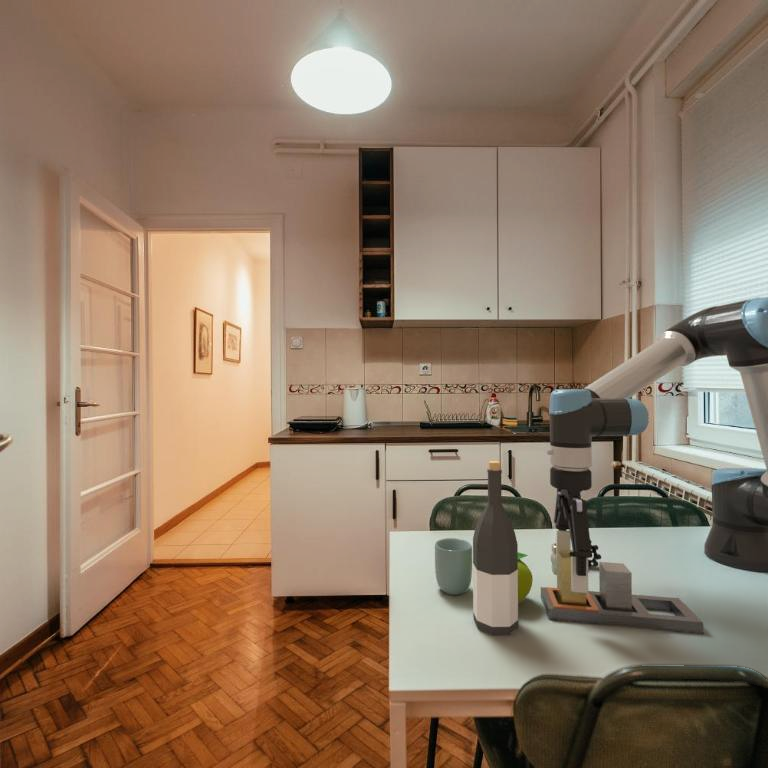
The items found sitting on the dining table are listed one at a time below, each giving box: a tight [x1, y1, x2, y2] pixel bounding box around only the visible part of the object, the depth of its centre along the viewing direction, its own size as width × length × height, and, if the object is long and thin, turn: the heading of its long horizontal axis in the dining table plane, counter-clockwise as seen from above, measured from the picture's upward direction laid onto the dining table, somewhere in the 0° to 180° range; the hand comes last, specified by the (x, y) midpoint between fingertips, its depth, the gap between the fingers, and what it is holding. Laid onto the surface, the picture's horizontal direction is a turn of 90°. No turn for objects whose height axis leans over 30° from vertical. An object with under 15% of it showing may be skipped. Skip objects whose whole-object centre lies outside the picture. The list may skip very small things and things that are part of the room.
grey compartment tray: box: [540, 586, 704, 634], centre depth 84 cm, size 26×9×2 cm, turn 79°
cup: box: [434, 537, 473, 596], centre depth 94 cm, size 8×8×10 cm
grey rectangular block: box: [598, 561, 633, 612], centre depth 84 cm, size 4×4×9 cm
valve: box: [550, 539, 602, 576], centre depth 104 cm, size 7×7×12 cm
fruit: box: [518, 552, 533, 605], centre depth 89 cm, size 9×9×10 cm
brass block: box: [556, 549, 586, 607], centre depth 85 cm, size 4×4×11 cm
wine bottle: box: [472, 460, 519, 636], centre depth 80 cm, size 8×8×30 cm
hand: (571, 575), depth 85 cm, fingers open, 13 cm apart
